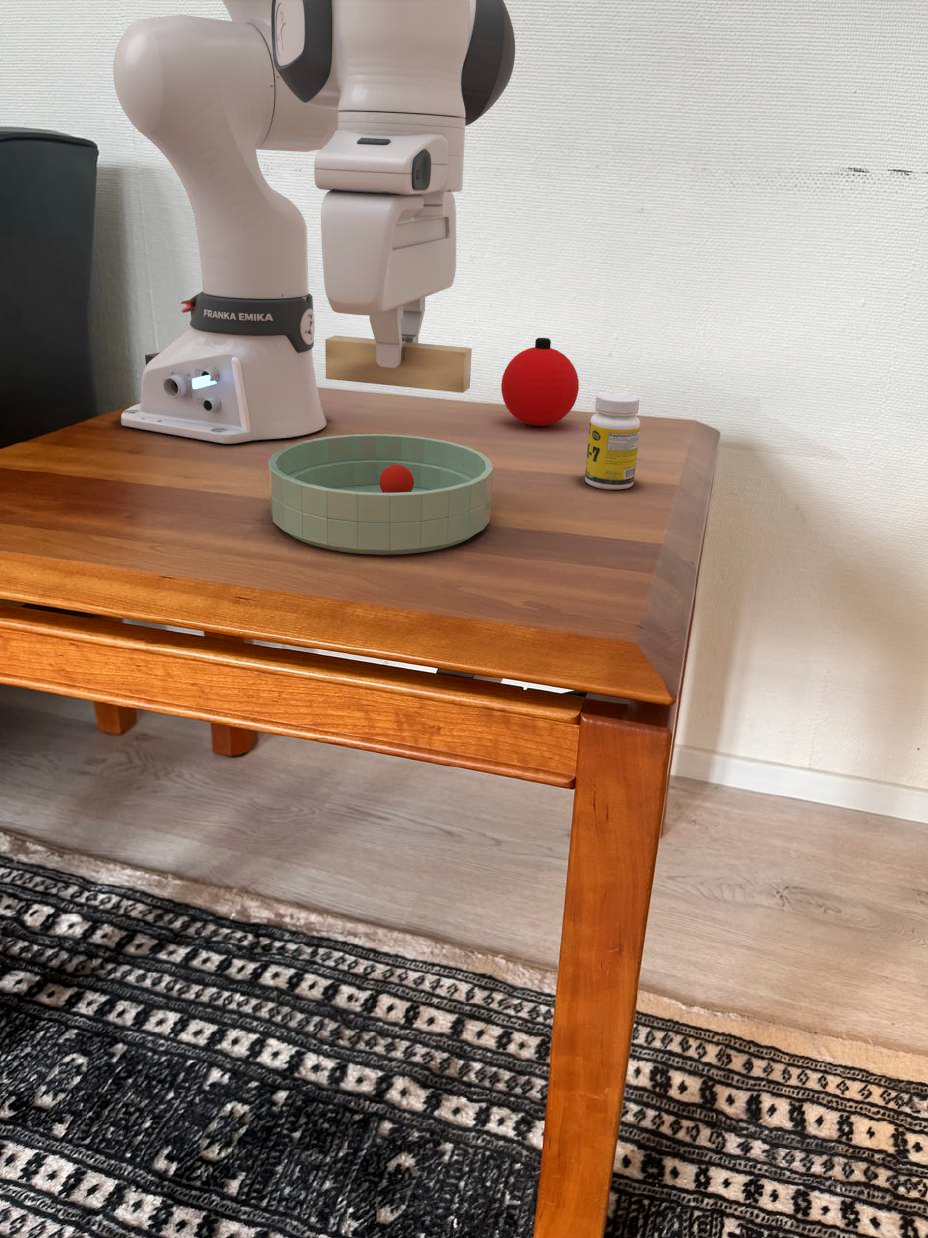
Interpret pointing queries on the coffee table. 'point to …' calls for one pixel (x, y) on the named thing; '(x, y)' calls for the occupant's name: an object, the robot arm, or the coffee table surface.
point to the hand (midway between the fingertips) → (397, 362)
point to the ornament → (540, 385)
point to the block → (419, 369)
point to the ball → (396, 479)
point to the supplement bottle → (613, 441)
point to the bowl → (379, 493)
